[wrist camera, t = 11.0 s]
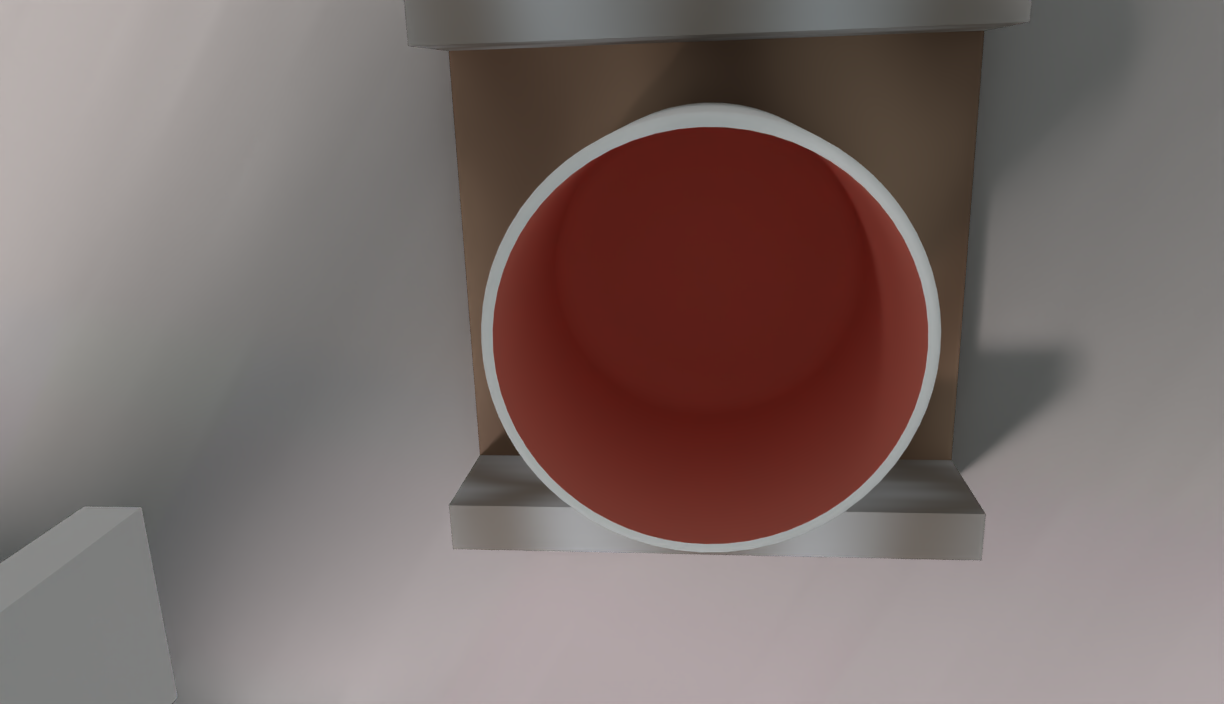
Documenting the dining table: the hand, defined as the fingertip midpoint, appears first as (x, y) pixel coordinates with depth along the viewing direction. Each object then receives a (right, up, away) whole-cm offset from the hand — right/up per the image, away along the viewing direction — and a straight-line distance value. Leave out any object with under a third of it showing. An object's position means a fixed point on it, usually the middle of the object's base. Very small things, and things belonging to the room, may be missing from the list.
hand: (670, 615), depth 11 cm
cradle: (+2, +6, +19) cm, 21 cm away
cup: (+2, +6, +19) cm, 20 cm away
